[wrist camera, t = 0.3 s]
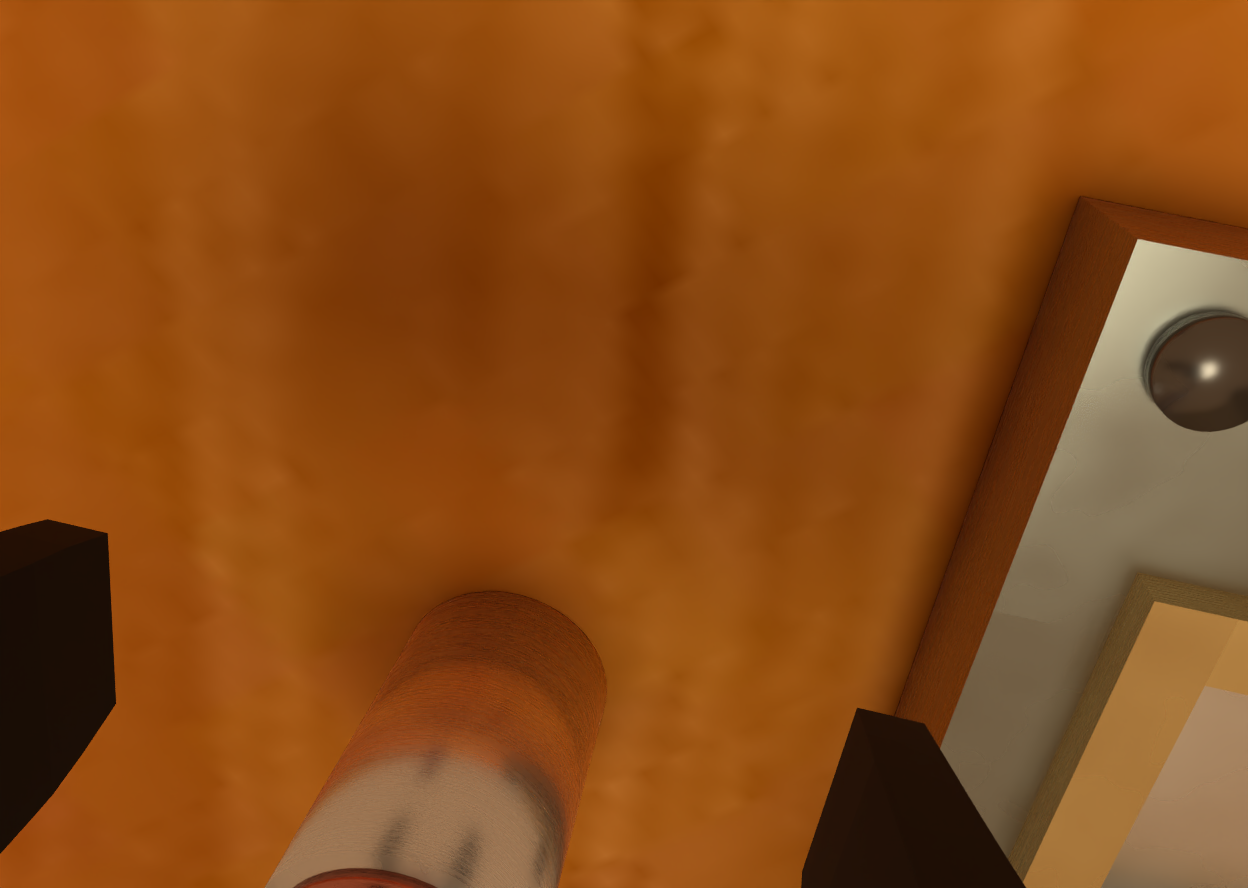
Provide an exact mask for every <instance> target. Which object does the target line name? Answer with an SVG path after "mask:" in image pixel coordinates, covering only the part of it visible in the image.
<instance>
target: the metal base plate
mask: <svg viewBox="0 0 1248 888" xmlns="http://www.w3.org/2000/svg"><path fill="white" fill-rule="evenodd" d="M895 717H899V718H903V719H908V720H912V721H916V722H920V723H924V724H925V725H926V727H927V729H928V730H929V732H930V733H931V735H932V737H933V738H934V740H935V741H936V743H937V745H938V746H939V748H940V750H941V751H942V753H943V754H944V756H945V758H946V759H947V761H948V763H949V764H950V766H951V768H952V769H953V771H954V772H955V774H956V776H957V777H958V779H959V781H960V782H961V784H962V786H963V787H964V789H965V791H966V792H967V794H968V796H969V797H970V799H971V800H972V802H973V804H974V805H975V807H976V809H977V810H978V812H979V814H980V815H981V817H982V818H983V820H984V822H985V823H986V825H987V826H988V828H989V830H990V831H991V833H992V835H993V836H994V838H995V839H996V841H997V843H998V844H999V846H1000V847H1001V849H1002V851H1003V852H1004V854H1005V855H1006V857H1007V858H1008V860H1009V862H1010V863H1011V865H1012V866H1013V868H1014V869H1015V871H1016V873H1017V874H1018V876H1019V877H1020V879H1021V880H1022V882H1023V883H1024V885H1025V886H1026V888H1248V229H1246V228H1241V227H1235V226H1230V225H1225V224H1220V223H1215V222H1210V221H1205V220H1200V219H1194V218H1189V217H1184V216H1179V215H1174V214H1169V213H1164V212H1159V211H1153V210H1148V209H1143V208H1138V207H1133V206H1128V205H1123V204H1118V203H1112V202H1107V201H1102V200H1097V199H1092V198H1087V197H1082V196H1080V198H1079V201H1078V204H1077V207H1076V210H1075V212H1074V215H1073V218H1072V221H1071V224H1070V226H1069V229H1068V232H1067V235H1066V238H1065V240H1064V243H1063V246H1062V249H1061V252H1060V254H1059V257H1058V260H1057V263H1056V266H1055V268H1054V271H1053V274H1052V277H1051V280H1050V282H1049V285H1048V288H1047V291H1046V294H1045V296H1044V299H1043V302H1042V305H1041V307H1040V310H1039V313H1038V316H1037V319H1036V321H1035V324H1034V327H1033V330H1032V333H1031V335H1030V338H1029V341H1028V344H1027V347H1026V349H1025V352H1024V355H1023V358H1022V361H1021V363H1020V366H1019V369H1018V372H1017V375H1016V377H1015V380H1014V383H1013V386H1012V389H1011V391H1010V394H1009V397H1008V400H1007V403H1006V405H1005V408H1004V411H1003V414H1002V417H1001V419H1000V422H999V425H998V428H997V431H996V433H995V436H994V439H993V442H992V445H991V447H990V450H989V453H988V456H987V459H986V461H985V464H984V467H983V470H982V473H981V475H980V478H979V481H978V484H977V487H976V489H975V492H974V495H973V498H972V501H971V503H970V506H969V509H968V512H967V515H966V517H965V520H964V523H963V526H962V529H961V531H960V534H959V537H958V540H957V543H956V545H955V548H954V551H953V554H952V557H951V559H950V562H949V565H948V568H947V570H946V573H945V576H944V579H943V582H942V584H941V587H940V590H939V593H938V596H937V598H936V601H935V604H934V607H933V610H932V612H931V615H930V618H929V621H928V624H927V626H926V629H925V632H924V635H923V638H922V640H921V643H920V646H919V649H918V652H917V654H916V657H915V660H914V663H913V666H912V668H911V671H910V674H909V677H908V680H907V682H906V685H905V688H904V691H903V694H902V696H901V699H900V702H899V705H898V708H897V710H896V713H895Z"/></svg>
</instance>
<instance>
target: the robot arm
mask: <svg viewBox="0 0 1248 888" xmlns="http://www.w3.org/2000/svg"><path fill="white" fill-rule="evenodd" d="M115 704H116V693H115V673H114V653H113V632H112V612H111V592H110V571H109V551H108V533H104V532H100V531H95V530H91V529H87V528H83V527H78V526H74V525H70V524H65V523H61V522H57V521H52V520H48V519H47V520H43V521H39V522H35V523H31V524H27V525H23V526H20V527H16V528H12V529H9V530H6V531H2V532H0V853H1V852H2V851H3V850H4V849H5V848H6V847H7V846H8V845H9V843H10V842H11V841H12V840H13V839H14V838H15V837H16V836H17V834H18V833H19V832H20V831H21V830H22V829H23V828H24V827H25V826H26V824H27V823H28V822H29V821H30V820H31V819H32V818H33V817H34V815H35V814H36V813H37V812H38V811H39V810H40V809H41V807H42V806H43V805H44V804H45V803H46V802H47V801H48V799H49V798H50V797H51V796H52V795H53V794H54V792H55V791H56V789H57V788H58V787H59V785H60V784H61V782H62V781H63V780H64V778H65V777H66V776H67V774H68V773H69V771H70V770H71V769H72V767H73V766H74V765H75V763H76V762H77V760H78V759H79V758H80V756H81V755H82V753H83V752H84V751H85V749H86V748H87V746H88V745H89V743H90V742H91V740H92V739H93V737H94V736H95V734H96V733H97V731H98V730H99V728H100V727H101V725H102V724H103V722H104V721H105V719H106V718H107V716H108V715H109V713H110V712H111V710H112V709H113V707H114V706H115ZM801 888H1026V886H1025V885H1024V883H1023V882H1022V880H1021V879H1020V877H1019V876H1018V874H1017V873H1016V871H1015V869H1014V868H1013V866H1012V865H1011V863H1010V862H1009V860H1008V858H1007V857H1006V855H1005V854H1004V852H1003V851H1002V849H1001V847H1000V846H999V844H998V843H997V841H996V839H995V838H994V836H993V835H992V833H991V831H990V830H989V828H988V826H987V825H986V823H985V822H984V820H983V818H982V817H981V815H980V814H979V812H978V810H977V809H976V807H975V805H974V804H973V802H972V800H971V799H970V797H969V796H968V794H967V792H966V791H965V789H964V787H963V786H962V784H961V782H960V781H959V779H958V777H957V776H956V774H955V772H954V771H953V769H952V768H951V766H950V764H949V763H948V761H947V759H946V758H945V756H944V754H943V753H942V751H941V750H940V748H939V746H938V745H937V743H936V741H935V740H934V738H933V737H932V735H931V733H930V732H929V730H928V729H927V727H926V725H925V724H924V723H920V722H916V721H912V720H908V719H903V718H899V717H895V716H890V715H886V714H882V713H878V712H873V711H869V710H865V709H860V708H857V710H856V713H855V716H854V719H853V722H852V725H851V728H850V731H849V734H848V737H847V740H846V743H845V746H844V749H843V752H842V755H841V758H840V761H839V764H838V767H837V770H836V772H835V775H834V778H833V781H832V784H831V787H830V790H829V793H828V796H827V799H826V802H825V805H824V808H823V811H822V814H821V817H820V820H819V823H818V826H817V829H816V832H815V835H814V838H813V841H812V844H811V847H810V850H809V853H808V856H807V859H806V862H805V865H804V868H803V871H802V885H801Z"/></svg>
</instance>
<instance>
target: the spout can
mask: <svg viewBox="0 0 1248 888" xmlns="http://www.w3.org/2000/svg"><path fill="white" fill-rule="evenodd" d="M606 694H607V687H606V677H605V672H604V668H603V666H602V663H601V660H600V658H599V656H598V654H597V652H596V650H595V648H594V646H593V645H592V644H591V642H590V641H589V639H588V638H587V637H586V635H585V634H584V633H583V632H582V631H581V630H580V629H579V628H578V627H577V626H576V625H575V624H574V623H573V622H572V621H570V620H569V619H568V618H567V617H565V616H564V615H562V614H561V613H560V612H558V611H557V610H555V609H553V608H551V607H549V606H547V605H546V604H544V603H541V602H539V601H536V600H534V599H531V598H528V597H525V596H521V595H518V594H512V593H506V592H492V591H489V592H475V593H470V594H464V595H461V596H458V597H455V598H452V599H450V600H448V601H446V602H444V603H442V604H440V605H439V606H437V607H436V608H434V609H433V610H431V611H430V612H429V613H428V614H427V615H426V616H425V617H424V618H423V619H422V620H421V622H420V623H419V624H418V625H417V627H416V629H415V630H414V632H413V634H412V635H411V637H410V639H409V641H408V642H407V644H406V646H405V647H404V649H403V651H402V653H401V654H400V656H399V658H398V660H397V661H396V663H395V665H394V666H393V668H392V670H391V672H390V673H389V675H388V677H387V678H386V680H385V682H384V684H383V685H382V687H381V689H380V690H379V692H378V694H377V696H376V697H375V699H374V701H373V702H372V704H371V706H370V708H369V709H368V711H367V713H366V715H365V716H364V718H363V720H362V721H361V723H360V725H359V727H358V728H357V730H356V732H355V733H354V735H353V737H352V739H351V740H350V742H349V744H348V745H347V747H346V749H345V751H344V752H343V754H342V756H341V758H340V759H339V761H338V763H337V764H336V766H335V768H334V770H333V771H332V773H331V775H330V776H329V778H328V780H327V782H326V783H325V785H324V787H323V788H322V790H321V792H320V794H319V795H318V797H317V799H316V800H315V802H314V804H313V806H312V807H311V809H310V811H309V813H308V814H307V816H306V818H305V819H304V821H303V823H302V825H301V826H300V828H299V830H298V831H297V833H296V835H295V837H294V838H293V840H292V842H291V843H290V845H289V847H288V849H287V850H286V852H285V854H284V855H283V857H282V859H281V861H280V862H279V864H278V866H277V868H276V869H275V871H274V873H273V874H272V876H271V878H270V880H269V881H268V883H267V885H266V886H265V888H558V885H559V881H560V877H561V873H562V869H563V865H564V861H565V858H566V854H567V850H568V846H569V842H570V838H571V834H572V830H573V827H574V823H575V819H576V815H577V811H578V807H579V803H580V800H581V796H582V792H583V788H584V784H585V780H586V776H587V772H588V769H589V765H590V761H591V757H592V753H593V749H594V745H595V741H596V738H597V734H598V730H599V726H600V722H601V718H602V714H603V710H604V707H605V703H606Z"/></svg>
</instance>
